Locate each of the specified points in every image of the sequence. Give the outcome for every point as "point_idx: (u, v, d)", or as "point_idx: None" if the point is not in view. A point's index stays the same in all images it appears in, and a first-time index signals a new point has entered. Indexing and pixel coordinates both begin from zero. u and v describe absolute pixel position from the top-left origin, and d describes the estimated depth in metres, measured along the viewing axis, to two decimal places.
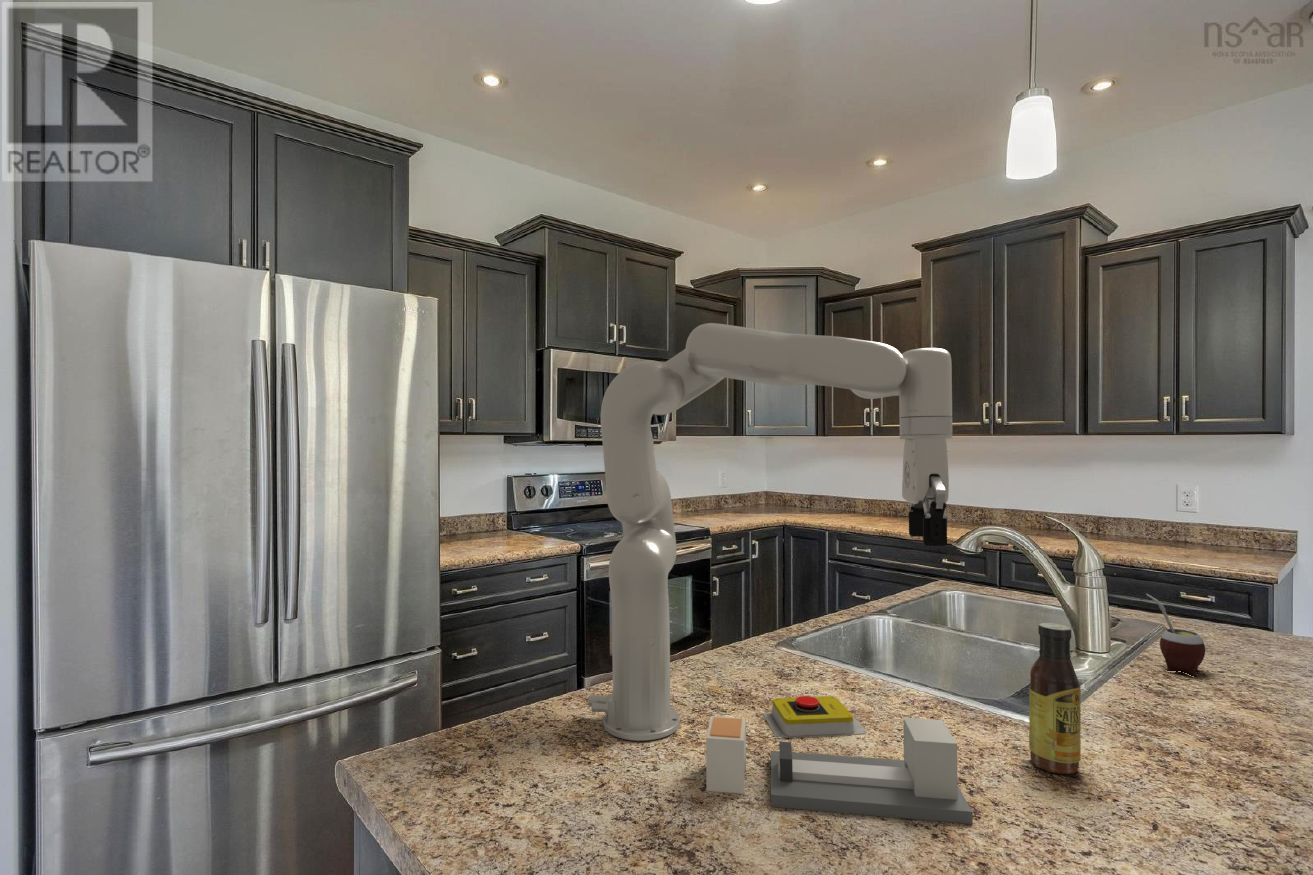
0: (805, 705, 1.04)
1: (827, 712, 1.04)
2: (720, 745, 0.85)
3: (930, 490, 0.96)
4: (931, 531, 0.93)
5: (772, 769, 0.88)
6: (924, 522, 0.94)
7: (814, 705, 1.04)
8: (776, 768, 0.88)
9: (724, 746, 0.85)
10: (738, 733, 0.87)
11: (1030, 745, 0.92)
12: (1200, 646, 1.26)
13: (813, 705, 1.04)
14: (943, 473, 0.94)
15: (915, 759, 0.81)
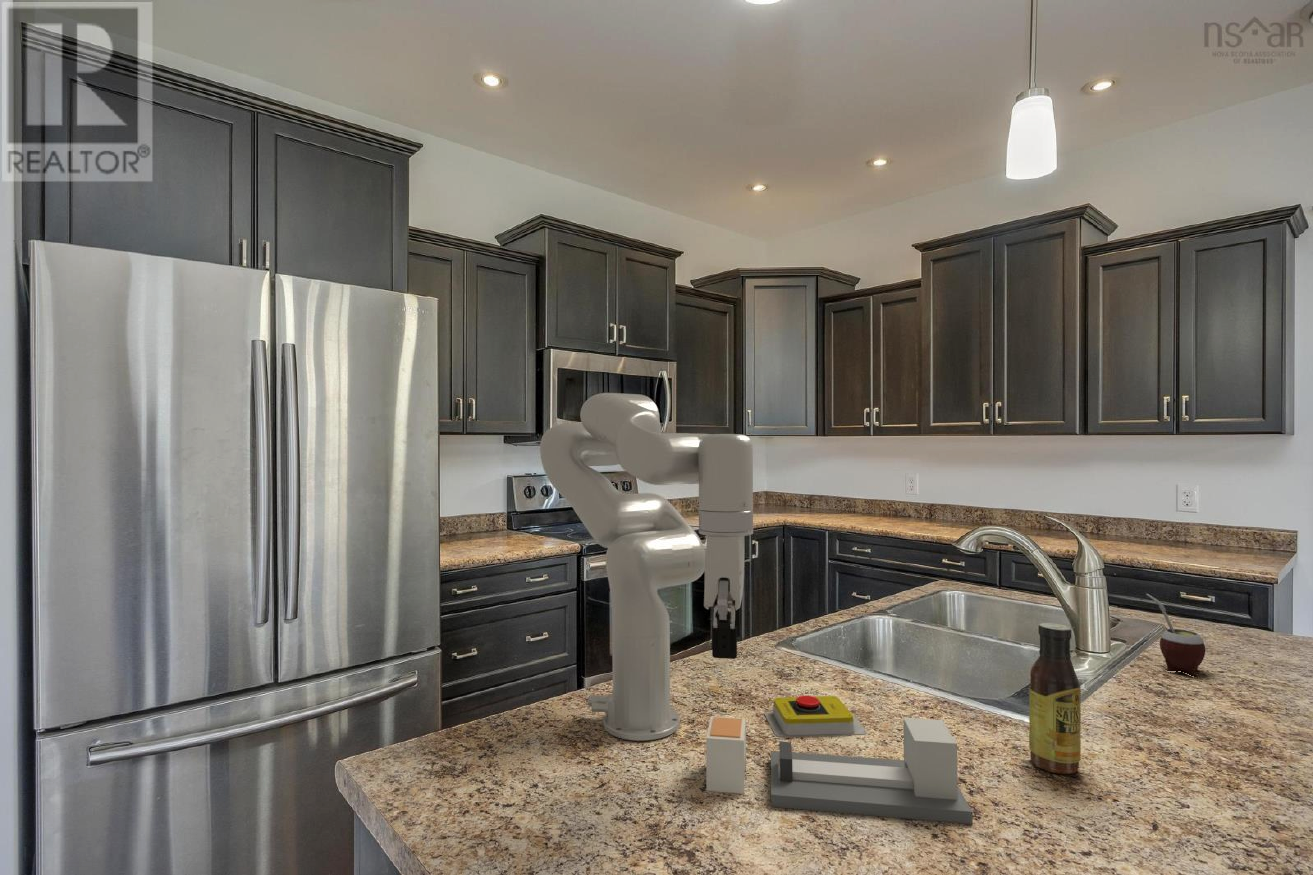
0: (805, 705, 1.05)
1: (827, 712, 1.04)
2: (720, 745, 0.85)
3: None
4: (718, 643, 0.84)
5: (772, 769, 0.88)
6: (712, 631, 0.84)
7: (814, 705, 1.05)
8: (776, 768, 0.88)
9: (724, 746, 0.85)
10: (738, 733, 0.87)
11: (1030, 745, 0.92)
12: (1200, 646, 1.26)
13: (813, 704, 1.05)
14: (733, 577, 0.84)
15: (915, 759, 0.81)
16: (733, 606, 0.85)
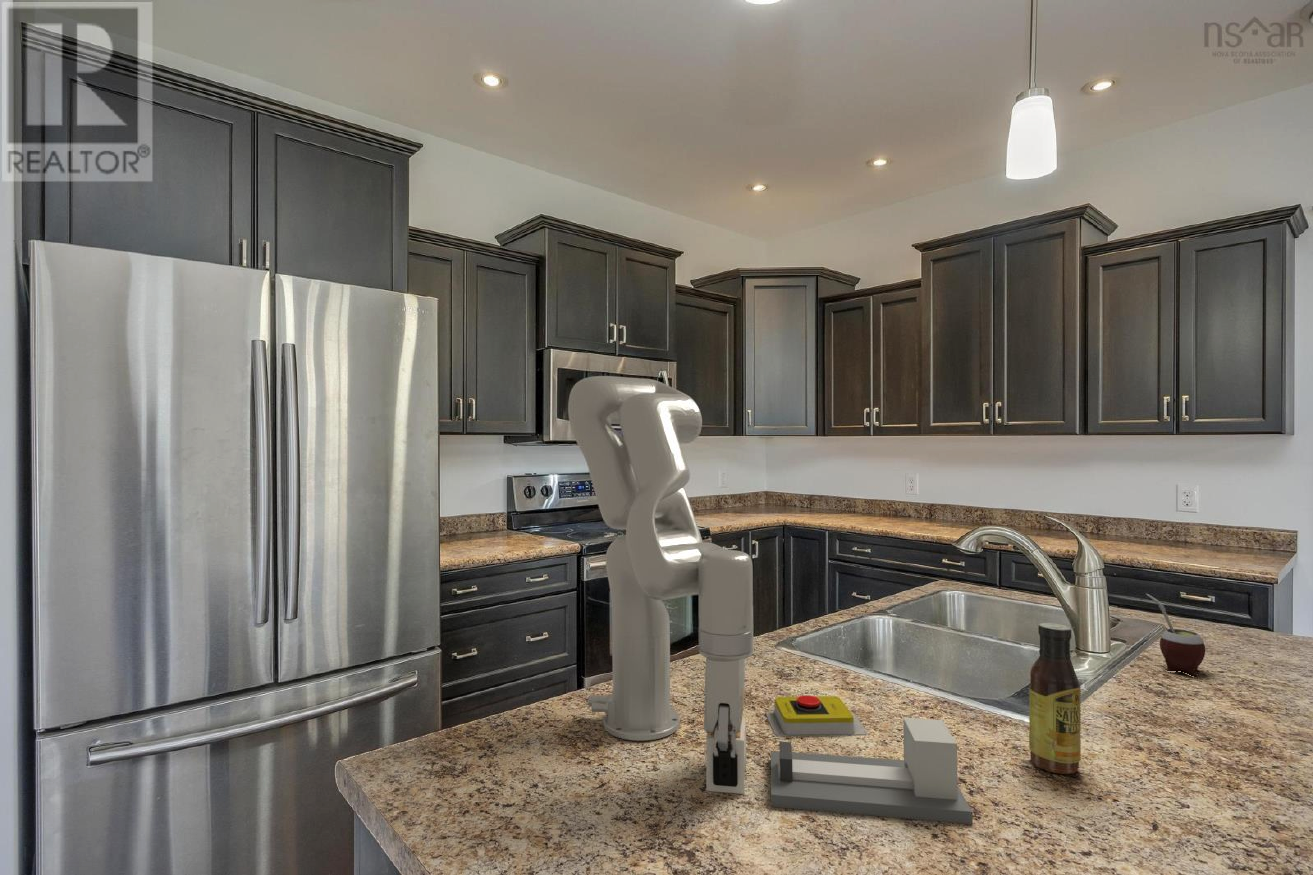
0: (806, 704, 1.05)
1: (827, 712, 1.04)
2: None
3: None
4: (719, 771, 0.84)
5: (772, 769, 0.88)
6: (713, 759, 0.85)
7: (815, 705, 1.05)
8: (776, 768, 0.88)
9: None
10: (738, 733, 0.87)
11: (1030, 745, 0.92)
12: (1200, 646, 1.26)
13: (813, 704, 1.05)
14: (733, 702, 0.84)
15: (915, 759, 0.81)
16: (733, 732, 0.84)
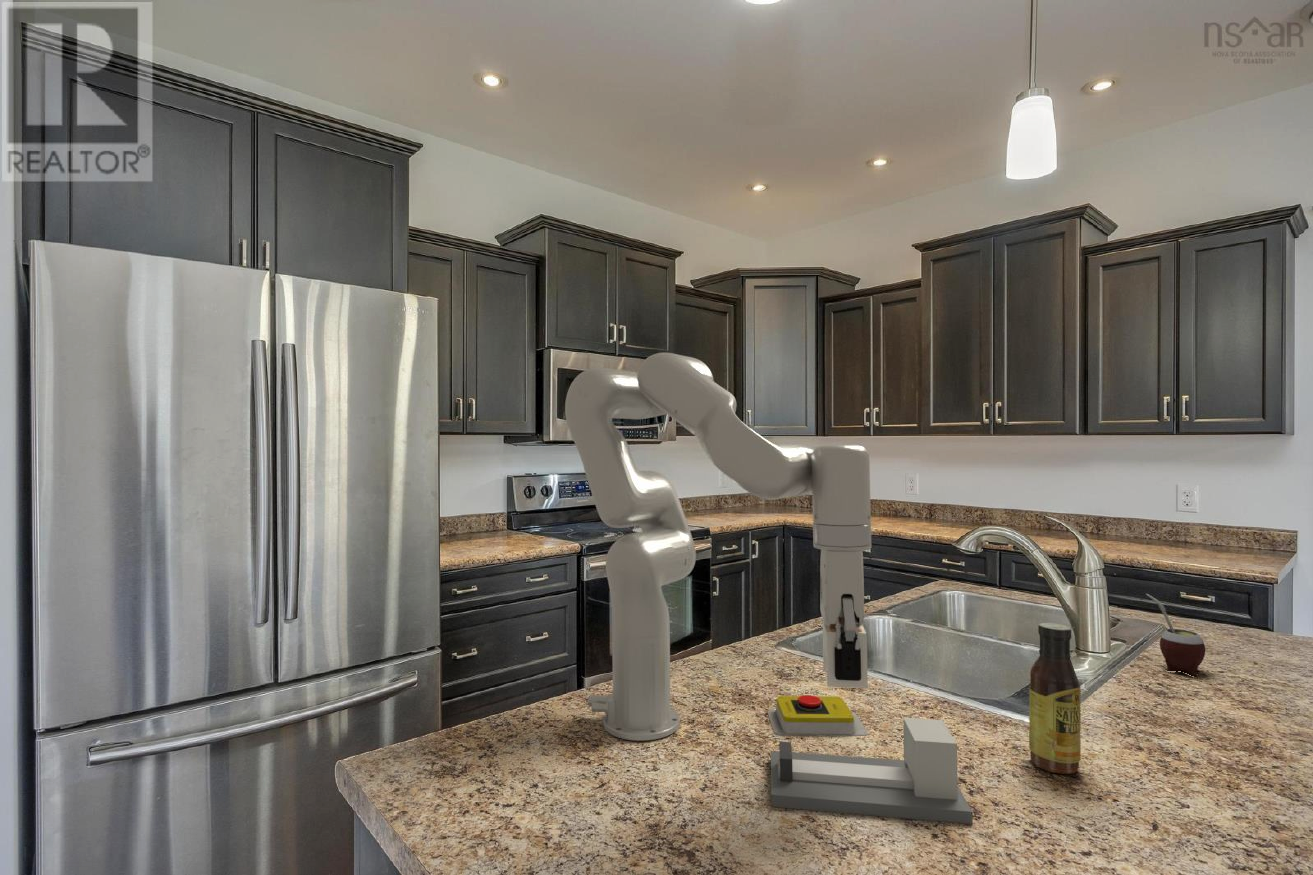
0: (806, 704, 1.05)
1: (828, 712, 1.04)
2: None
3: None
4: (842, 664, 0.82)
5: (772, 769, 0.88)
6: (835, 653, 0.82)
7: (815, 704, 1.05)
8: (776, 768, 0.88)
9: None
10: (858, 628, 0.84)
11: (1030, 745, 0.92)
12: (1200, 646, 1.26)
13: (814, 704, 1.05)
14: (857, 593, 0.81)
15: (915, 759, 0.81)
16: (856, 624, 0.82)
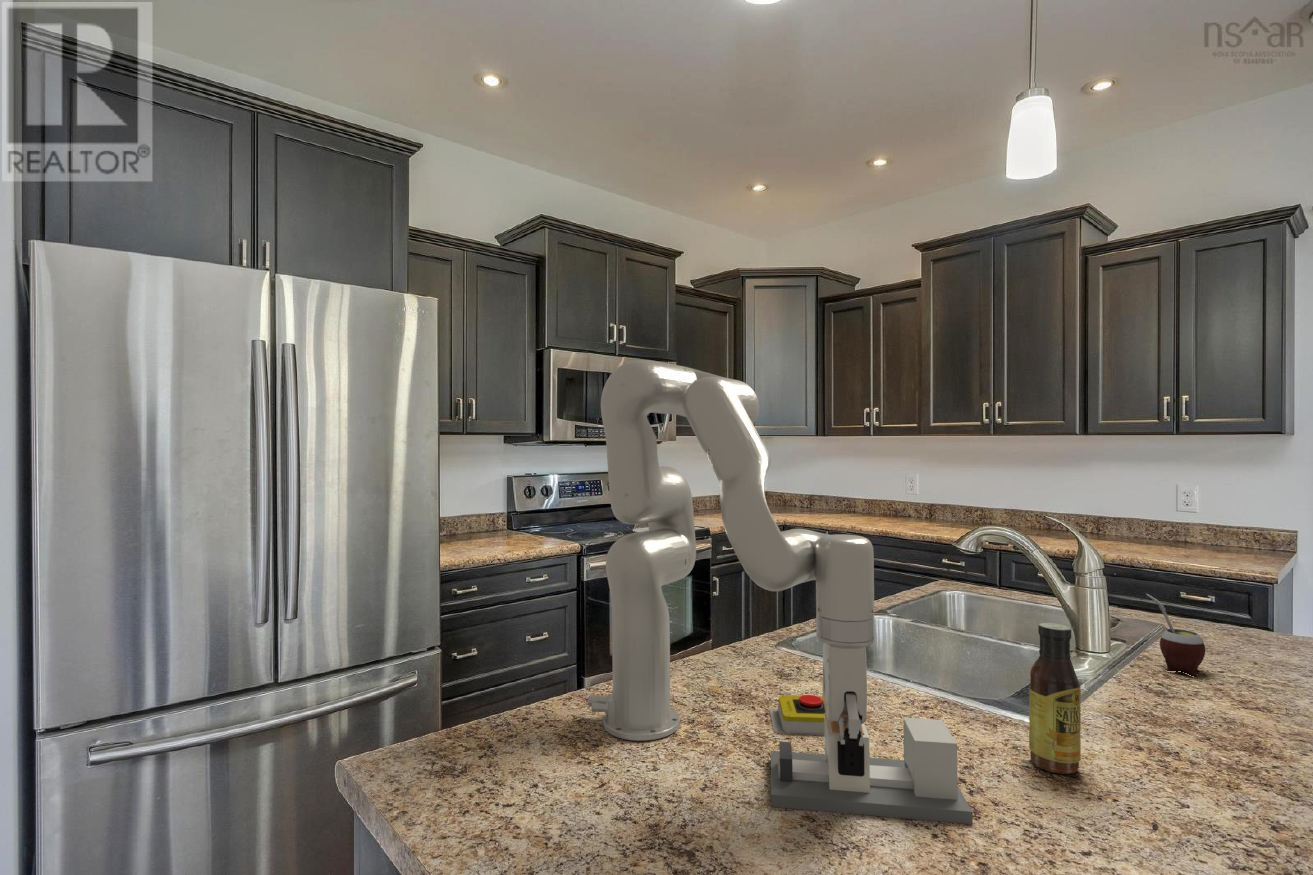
0: (807, 703, 1.05)
1: None
2: None
3: None
4: (846, 760, 0.81)
5: (772, 769, 0.88)
6: (838, 747, 0.81)
7: (816, 704, 1.05)
8: (776, 768, 0.88)
9: None
10: None
11: (1030, 745, 0.92)
12: (1200, 646, 1.26)
13: (815, 704, 1.05)
14: (860, 690, 0.81)
15: (915, 759, 0.81)
16: (859, 721, 0.82)
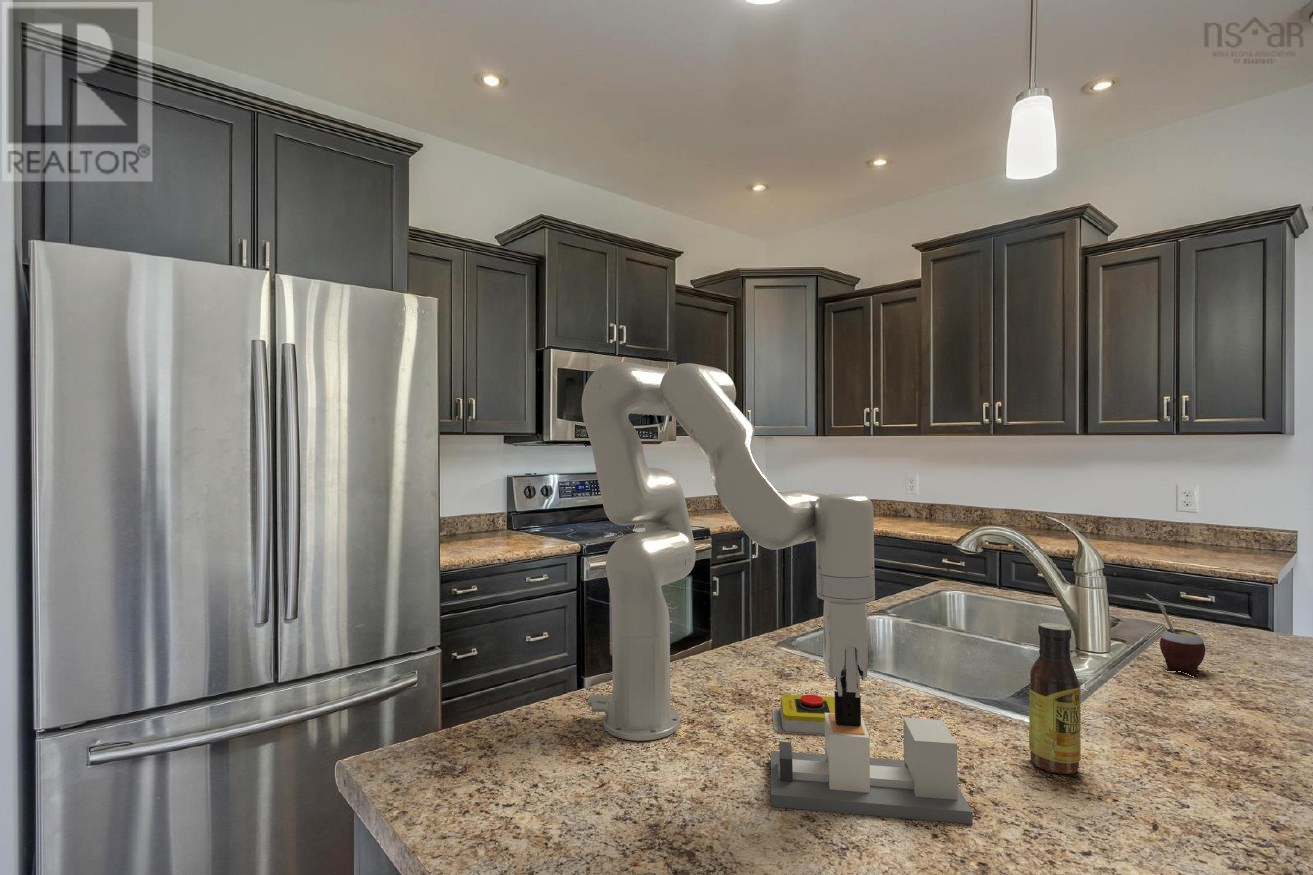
0: (807, 703, 1.05)
1: (829, 712, 1.04)
2: (844, 743, 0.83)
3: None
4: (843, 711, 0.85)
5: (772, 769, 0.88)
6: (836, 700, 0.86)
7: (817, 704, 1.05)
8: (776, 768, 0.88)
9: (848, 744, 0.83)
10: (861, 730, 0.84)
11: (1030, 745, 0.92)
12: (1200, 646, 1.26)
13: (815, 703, 1.05)
14: (860, 646, 0.81)
15: (915, 759, 0.81)
16: None
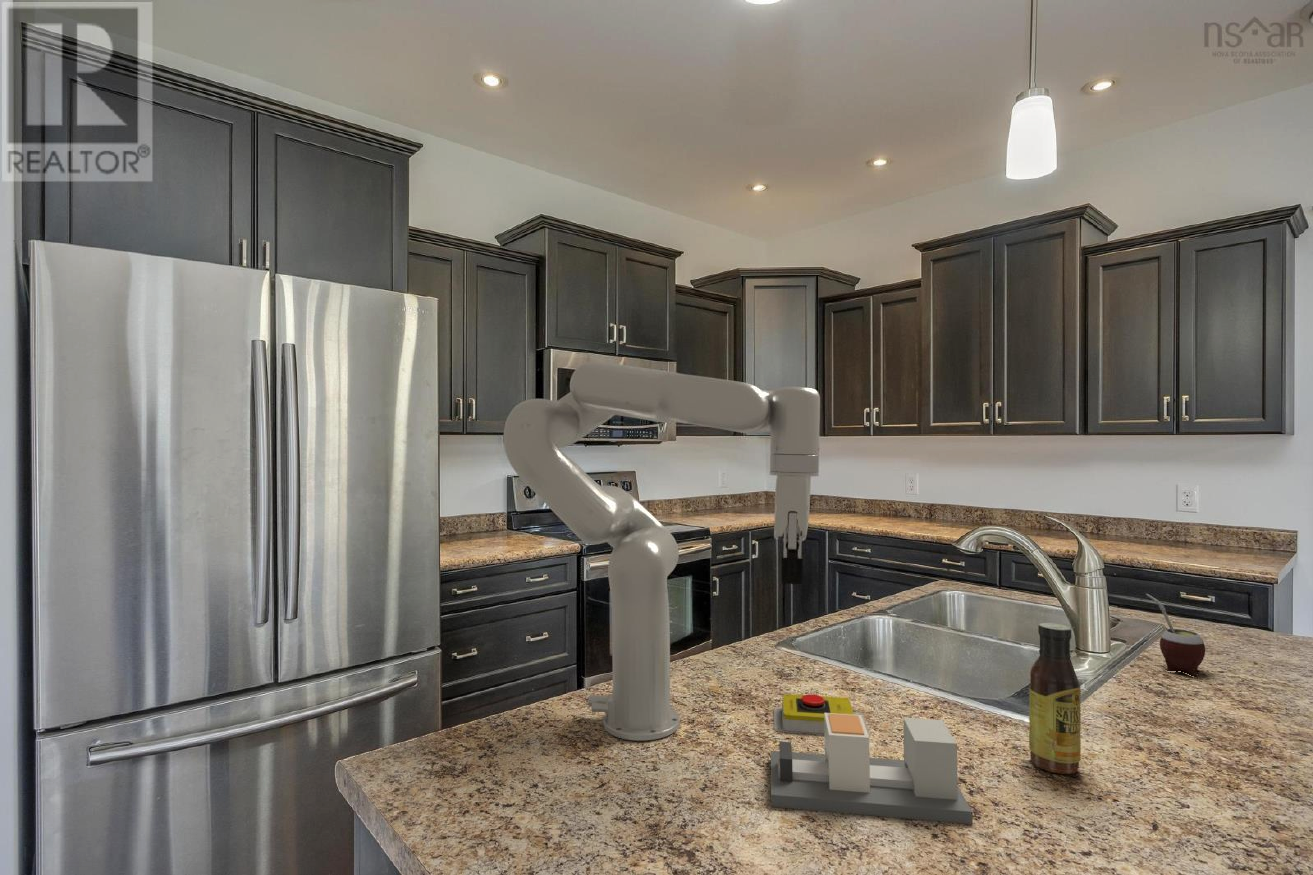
0: (808, 703, 1.05)
1: (830, 712, 1.04)
2: (844, 743, 0.83)
3: None
4: (787, 570, 1.00)
5: (772, 769, 0.88)
6: (782, 561, 1.01)
7: (817, 704, 1.05)
8: (776, 768, 0.88)
9: (848, 744, 0.83)
10: (861, 730, 0.84)
11: (1030, 745, 0.92)
12: (1200, 646, 1.26)
13: (816, 703, 1.05)
14: (801, 510, 0.96)
15: (915, 759, 0.81)
16: (800, 537, 0.96)
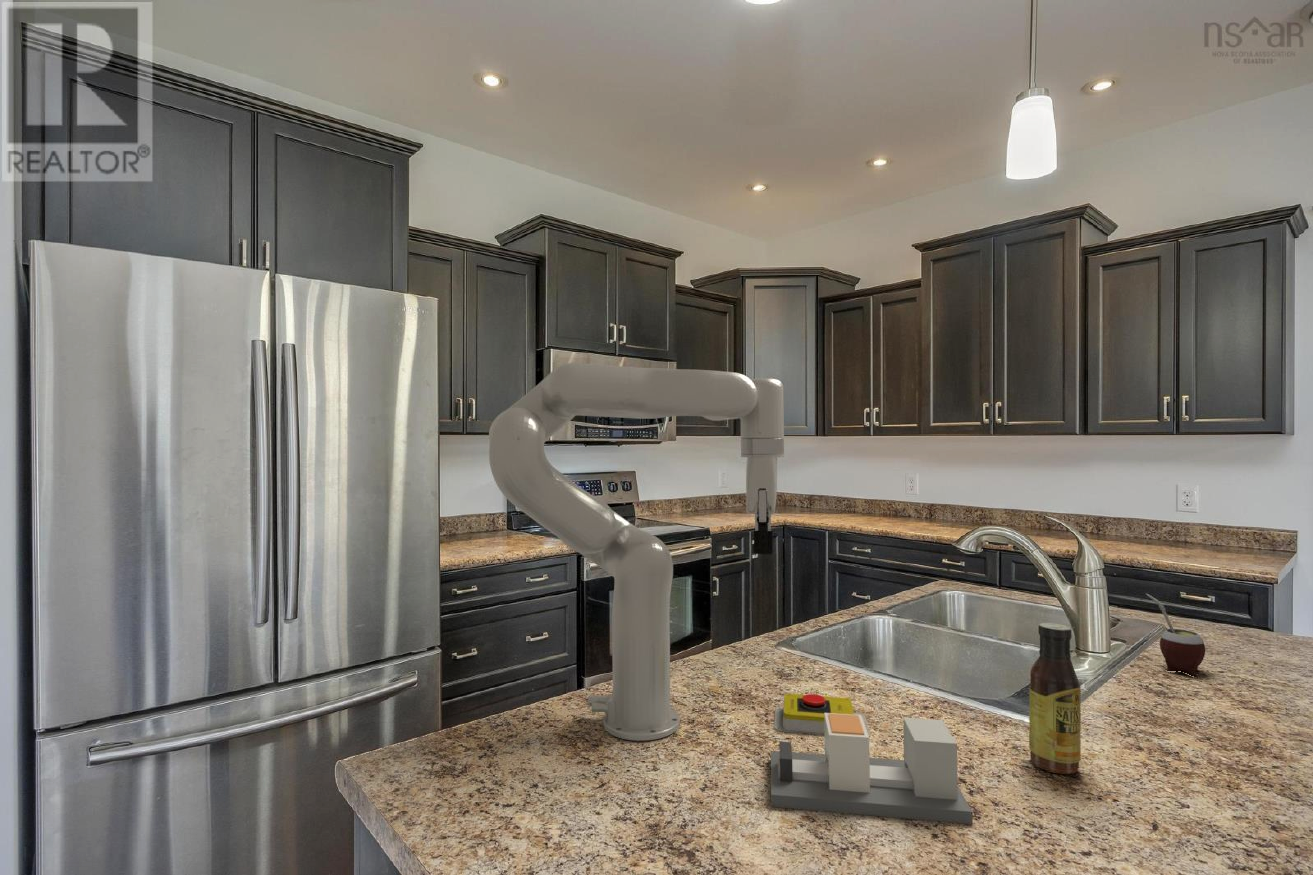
0: (808, 702, 1.06)
1: (830, 712, 1.04)
2: (844, 743, 0.83)
3: None
4: (759, 542, 1.12)
5: (772, 769, 0.88)
6: (754, 534, 1.12)
7: (818, 703, 1.05)
8: (776, 768, 0.88)
9: (848, 744, 0.83)
10: (861, 730, 0.84)
11: (1030, 745, 0.92)
12: (1200, 646, 1.26)
13: (816, 703, 1.05)
14: (769, 487, 1.08)
15: (915, 759, 0.81)
16: (769, 511, 1.08)
